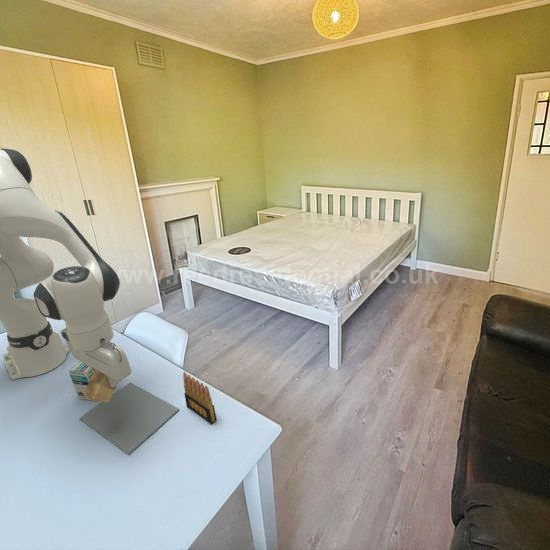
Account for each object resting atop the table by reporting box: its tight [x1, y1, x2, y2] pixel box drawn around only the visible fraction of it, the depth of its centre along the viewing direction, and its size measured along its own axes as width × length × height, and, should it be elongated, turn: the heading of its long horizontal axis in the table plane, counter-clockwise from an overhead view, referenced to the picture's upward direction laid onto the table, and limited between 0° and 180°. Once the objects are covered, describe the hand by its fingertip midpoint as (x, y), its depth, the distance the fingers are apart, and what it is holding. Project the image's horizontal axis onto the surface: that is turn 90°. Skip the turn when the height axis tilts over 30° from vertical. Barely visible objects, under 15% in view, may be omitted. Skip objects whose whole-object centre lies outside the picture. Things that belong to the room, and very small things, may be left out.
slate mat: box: [79, 381, 180, 456], centre depth 90 cm, size 22×16×1 cm
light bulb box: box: [67, 360, 93, 401], centre depth 99 cm, size 11×7×11 cm, turn 168°
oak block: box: [83, 369, 118, 403], centre depth 82 cm, size 4×4×8 cm
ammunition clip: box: [182, 371, 217, 425], centre depth 87 cm, size 11×2×12 cm, turn 51°
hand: (106, 380), depth 82 cm, fingers closed on oak block, 4 cm apart
